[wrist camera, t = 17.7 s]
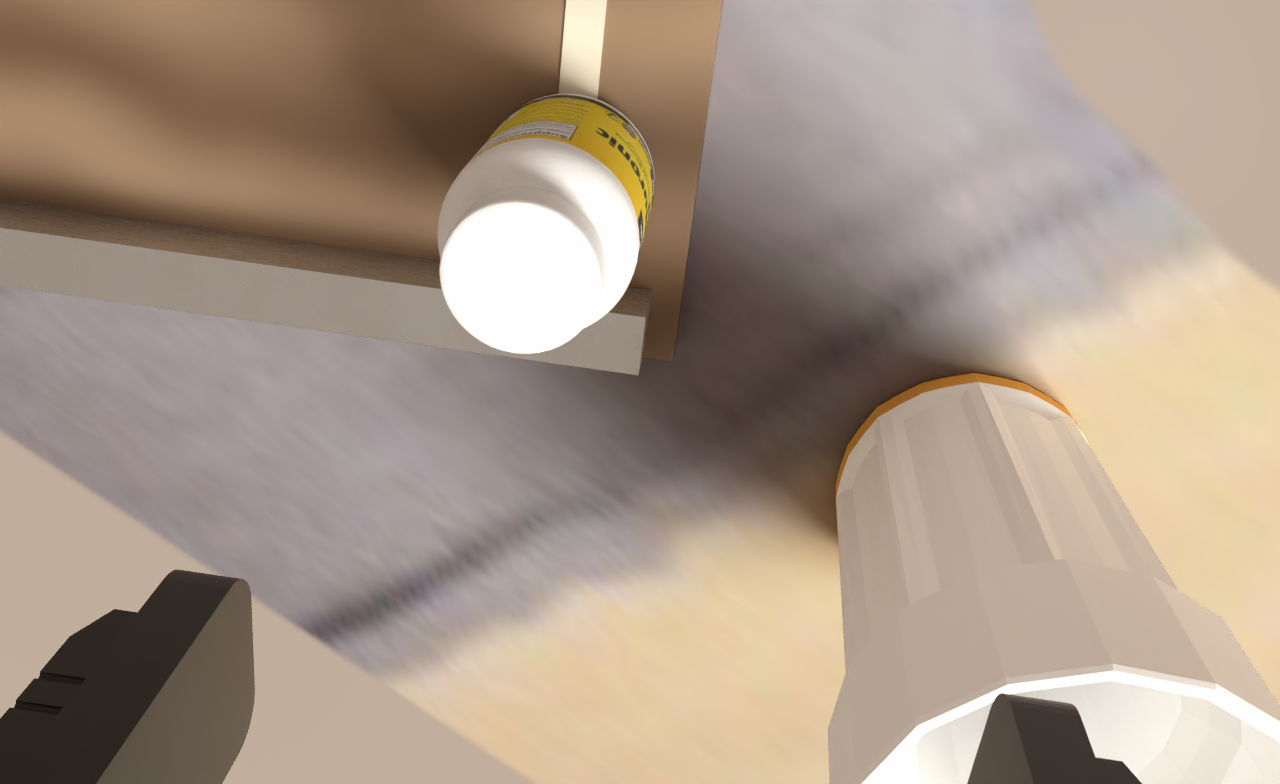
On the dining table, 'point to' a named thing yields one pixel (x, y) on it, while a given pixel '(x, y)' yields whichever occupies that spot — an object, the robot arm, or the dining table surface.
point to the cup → (1019, 602)
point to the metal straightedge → (273, 282)
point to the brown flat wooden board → (339, 111)
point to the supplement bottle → (545, 223)
